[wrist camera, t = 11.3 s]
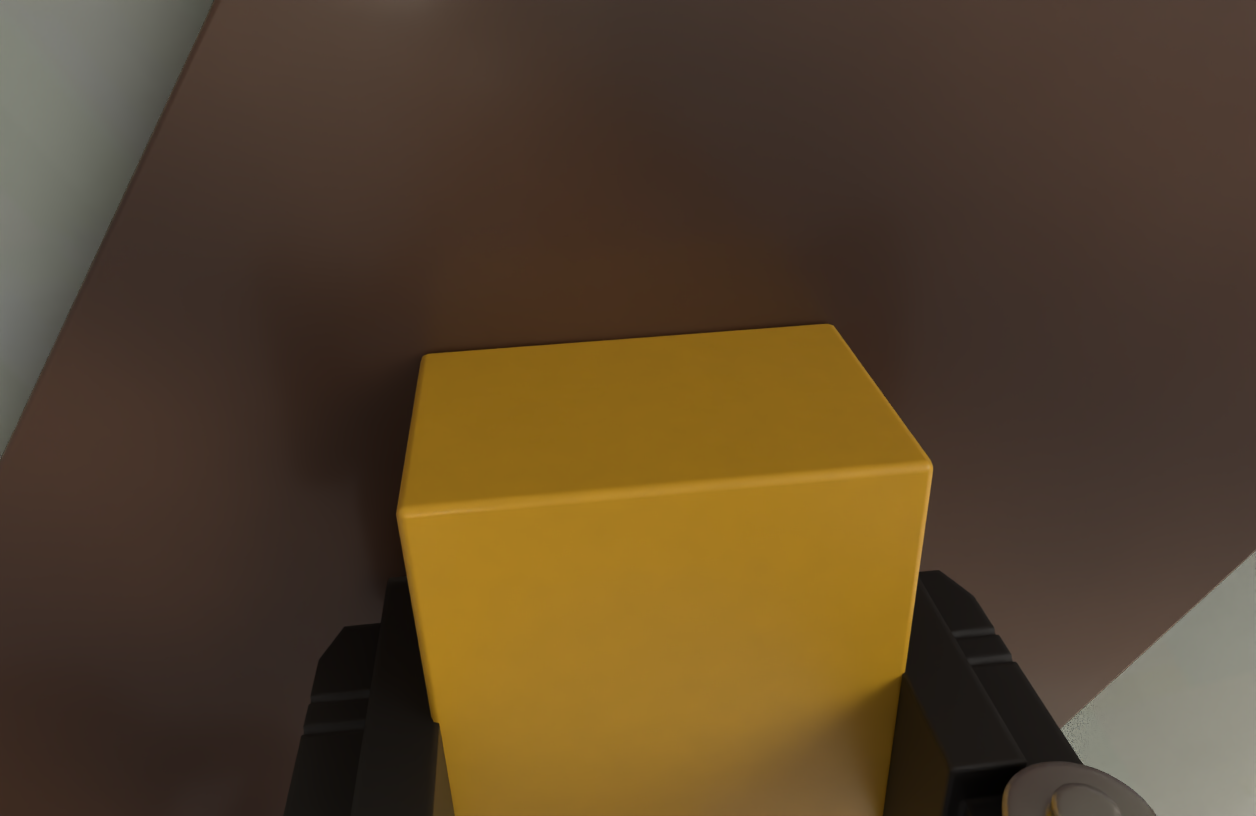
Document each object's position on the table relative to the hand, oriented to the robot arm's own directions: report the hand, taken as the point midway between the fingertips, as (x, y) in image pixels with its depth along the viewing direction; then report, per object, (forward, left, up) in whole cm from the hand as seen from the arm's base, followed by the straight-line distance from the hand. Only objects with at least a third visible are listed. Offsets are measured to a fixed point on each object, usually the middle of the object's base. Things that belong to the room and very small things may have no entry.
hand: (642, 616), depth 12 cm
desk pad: (0, 0, -2) cm, 2 cm away
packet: (0, 0, -1) cm, 1 cm away
